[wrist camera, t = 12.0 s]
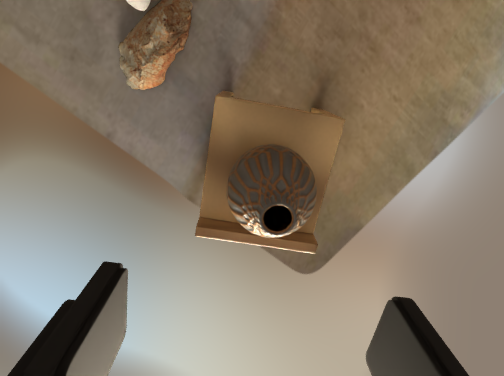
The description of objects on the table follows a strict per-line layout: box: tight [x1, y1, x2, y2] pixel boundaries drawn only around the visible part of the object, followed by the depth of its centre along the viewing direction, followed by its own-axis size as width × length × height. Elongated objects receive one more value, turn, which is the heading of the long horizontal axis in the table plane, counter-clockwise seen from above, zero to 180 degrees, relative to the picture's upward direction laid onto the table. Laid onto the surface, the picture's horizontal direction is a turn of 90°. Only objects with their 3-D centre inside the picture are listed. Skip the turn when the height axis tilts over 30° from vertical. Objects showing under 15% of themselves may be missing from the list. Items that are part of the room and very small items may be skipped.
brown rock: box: [118, 0, 192, 90], centre depth 29 cm, size 10×4×5 cm
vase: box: [226, 144, 317, 238], centre depth 23 cm, size 7×7×9 cm
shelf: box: [195, 91, 345, 253], centre depth 30 cm, size 12×11×10 cm
